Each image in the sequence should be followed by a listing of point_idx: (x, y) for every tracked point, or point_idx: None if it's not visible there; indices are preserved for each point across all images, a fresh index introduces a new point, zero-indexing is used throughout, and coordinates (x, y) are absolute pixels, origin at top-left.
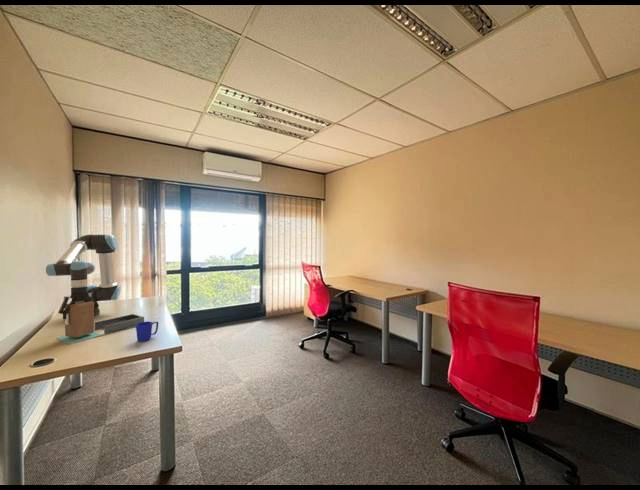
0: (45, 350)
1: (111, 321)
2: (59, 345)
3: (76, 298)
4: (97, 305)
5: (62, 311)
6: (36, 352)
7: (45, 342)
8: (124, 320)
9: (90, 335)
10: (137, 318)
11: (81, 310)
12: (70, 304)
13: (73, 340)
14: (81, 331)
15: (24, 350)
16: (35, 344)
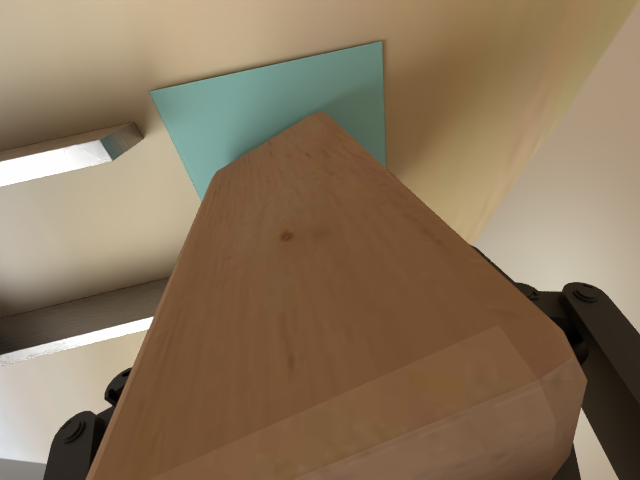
0: (505, 19)
1: (103, 316)
2: (420, 76)
3: None
4: (73, 445)
5: (589, 311)
6: (545, 21)
7: (437, 212)
8: (24, 325)
9: (237, 154)
10: None
11: (356, 254)
12: (574, 472)
13: (341, 112)
14: (300, 131)
15: (539, 138)
16: (471, 210)
